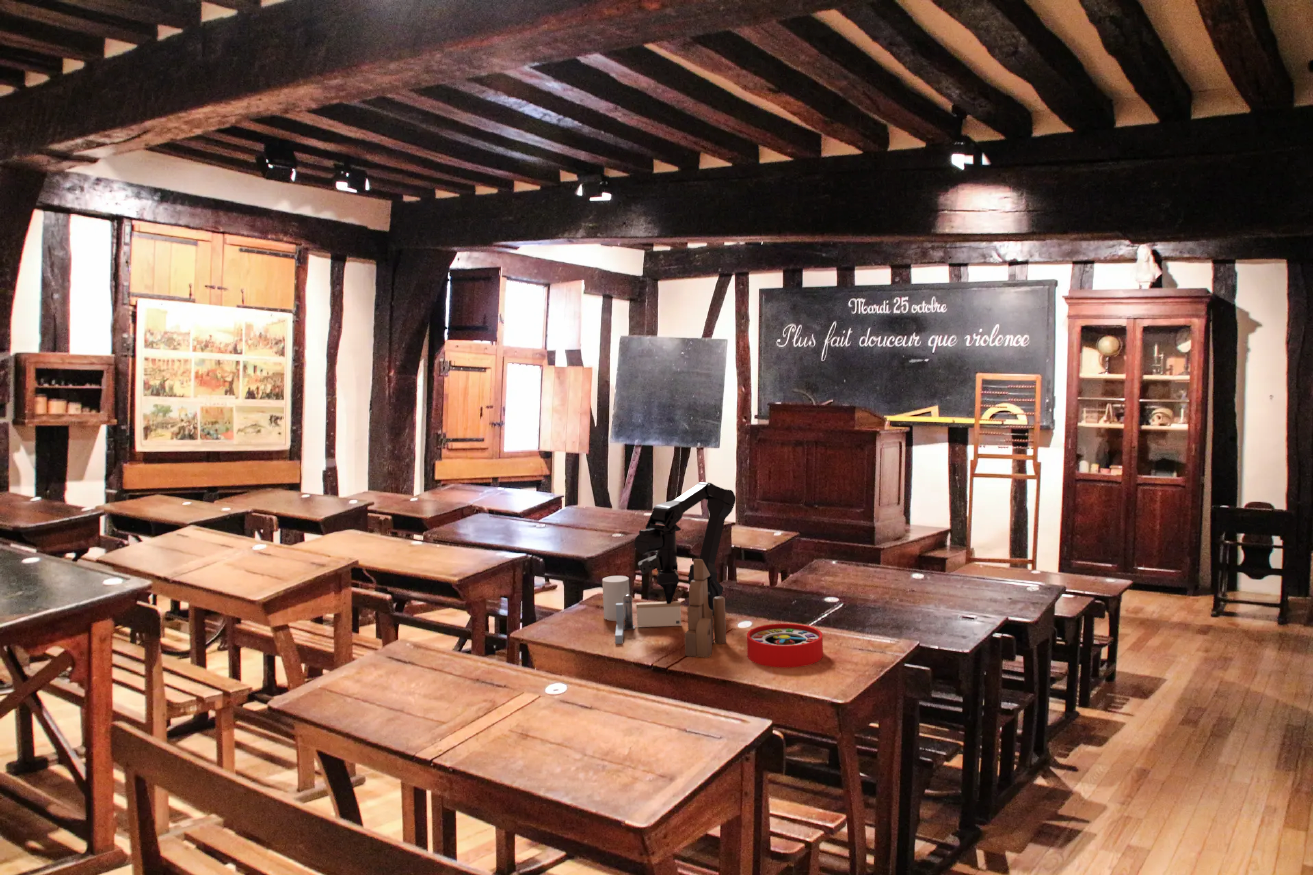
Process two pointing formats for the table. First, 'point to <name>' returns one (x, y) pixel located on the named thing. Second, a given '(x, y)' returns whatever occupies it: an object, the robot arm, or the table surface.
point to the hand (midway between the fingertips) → (668, 599)
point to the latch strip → (619, 624)
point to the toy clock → (784, 645)
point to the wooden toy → (703, 616)
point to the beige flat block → (658, 614)
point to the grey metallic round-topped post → (628, 612)
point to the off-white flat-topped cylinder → (614, 594)
